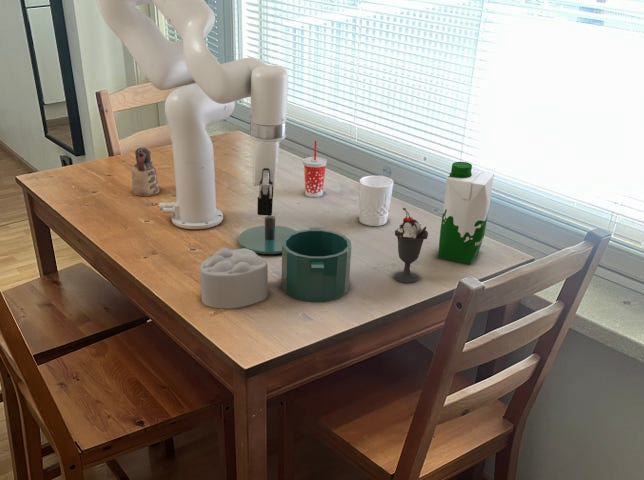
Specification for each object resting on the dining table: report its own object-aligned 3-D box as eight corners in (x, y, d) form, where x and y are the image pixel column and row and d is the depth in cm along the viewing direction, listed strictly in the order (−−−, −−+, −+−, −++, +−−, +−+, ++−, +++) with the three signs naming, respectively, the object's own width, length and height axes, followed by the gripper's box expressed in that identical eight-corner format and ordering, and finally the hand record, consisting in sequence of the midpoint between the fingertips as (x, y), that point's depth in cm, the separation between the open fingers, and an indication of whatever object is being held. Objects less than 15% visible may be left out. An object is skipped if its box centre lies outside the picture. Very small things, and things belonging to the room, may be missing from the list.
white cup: (388, 228, 171) (392, 188, 166) (355, 226, 172) (358, 185, 167) (390, 215, 178) (394, 176, 172) (358, 213, 179) (361, 174, 173)
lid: (236, 256, 159) (235, 230, 156) (240, 229, 172) (239, 205, 168) (302, 256, 159) (302, 230, 155) (301, 230, 171) (302, 205, 167)
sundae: (386, 271, 152) (392, 204, 144) (417, 269, 153) (425, 202, 144) (393, 285, 147) (401, 216, 139) (426, 284, 147) (435, 215, 139)
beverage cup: (307, 188, 194) (309, 136, 186) (328, 191, 192) (331, 139, 184) (298, 196, 189) (299, 142, 182) (320, 199, 187) (322, 145, 179)
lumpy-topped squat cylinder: (273, 297, 143) (273, 258, 139) (215, 314, 138) (213, 274, 133) (247, 277, 151) (246, 239, 146) (192, 292, 145) (189, 253, 141)
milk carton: (444, 243, 164) (456, 157, 152) (484, 251, 160) (500, 163, 149) (432, 258, 157) (444, 169, 146) (473, 267, 153) (489, 176, 142)
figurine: (162, 187, 196) (158, 143, 189) (155, 197, 190) (150, 152, 183) (137, 186, 197) (132, 142, 190) (129, 195, 191) (124, 151, 184)
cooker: (281, 308, 140) (281, 264, 135) (282, 264, 156) (282, 223, 150) (351, 309, 139) (354, 264, 134) (345, 265, 155) (348, 224, 150)
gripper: (252, 116, 158) (250, 190, 168) (247, 142, 144) (246, 221, 154) (286, 117, 158) (282, 191, 168) (285, 143, 144) (281, 222, 154)
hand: (265, 205), depth 161 cm, fingers open, 9 cm apart
